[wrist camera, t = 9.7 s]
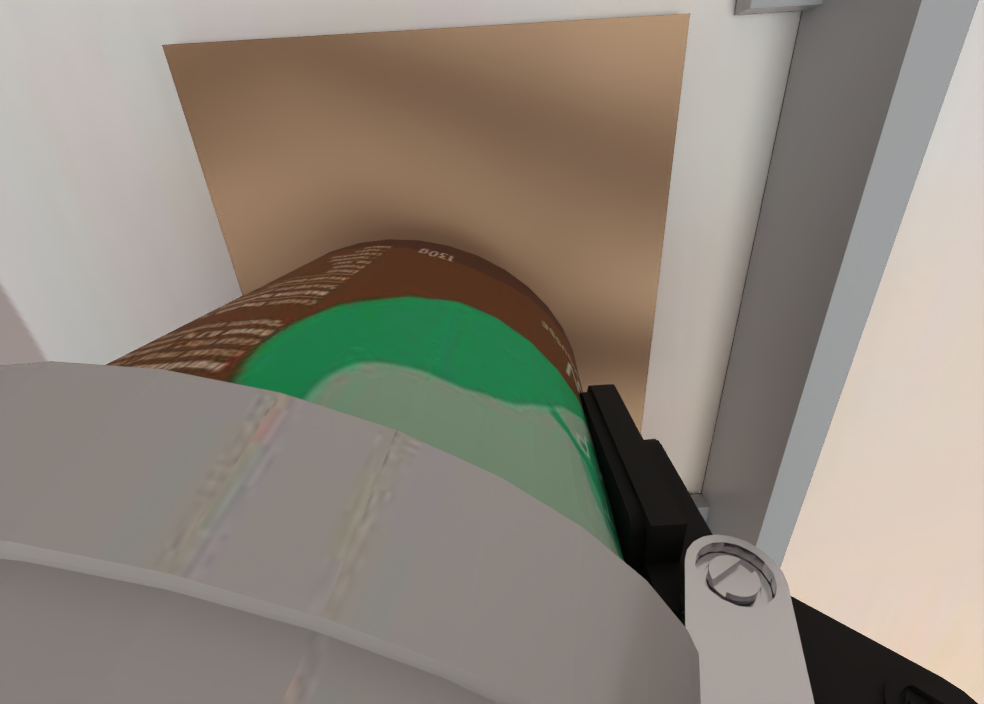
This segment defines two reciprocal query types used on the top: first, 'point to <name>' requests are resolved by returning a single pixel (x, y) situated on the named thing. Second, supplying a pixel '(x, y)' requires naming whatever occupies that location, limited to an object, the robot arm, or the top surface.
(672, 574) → the robot arm
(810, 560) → the top surface
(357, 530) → the food container
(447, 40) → the walnut board
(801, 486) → the grey footed rail
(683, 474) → the top surface
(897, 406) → the top surface
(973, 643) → the top surface
